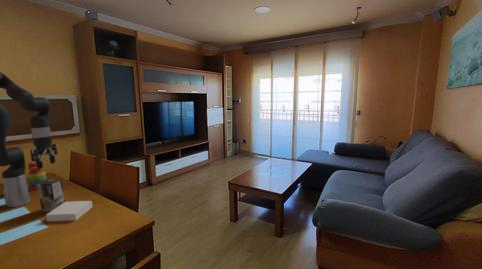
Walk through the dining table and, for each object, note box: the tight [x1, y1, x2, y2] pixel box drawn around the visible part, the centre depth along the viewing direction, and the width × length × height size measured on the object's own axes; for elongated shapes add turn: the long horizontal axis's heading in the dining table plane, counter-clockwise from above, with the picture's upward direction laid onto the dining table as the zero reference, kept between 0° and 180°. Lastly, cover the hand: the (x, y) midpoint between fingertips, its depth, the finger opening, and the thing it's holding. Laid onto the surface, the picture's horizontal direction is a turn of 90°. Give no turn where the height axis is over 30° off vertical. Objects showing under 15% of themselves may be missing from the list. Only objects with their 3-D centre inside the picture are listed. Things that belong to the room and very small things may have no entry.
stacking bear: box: [27, 161, 48, 192], centre depth 153 cm, size 11×10×18 cm
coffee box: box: [37, 178, 66, 213], centre depth 124 cm, size 9×6×16 cm
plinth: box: [45, 200, 93, 222], centre depth 120 cm, size 14×14×4 cm
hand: (46, 165), depth 121 cm, fingers open, 8 cm apart
